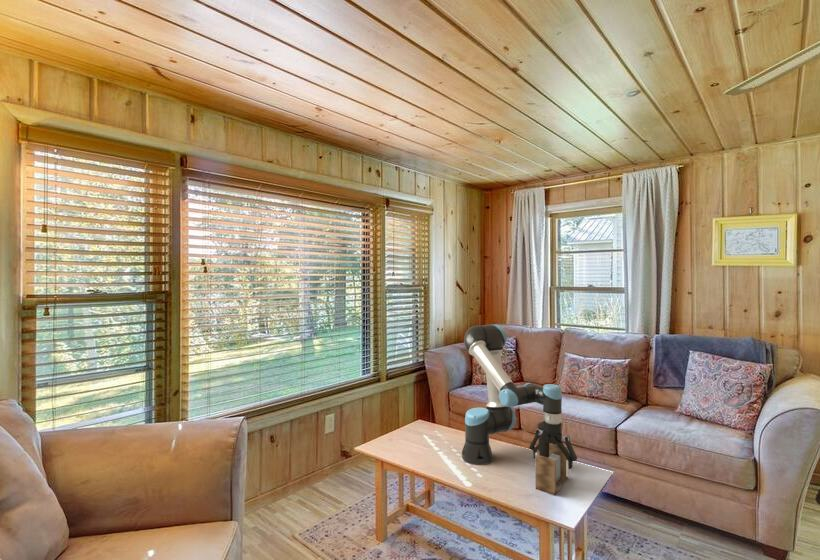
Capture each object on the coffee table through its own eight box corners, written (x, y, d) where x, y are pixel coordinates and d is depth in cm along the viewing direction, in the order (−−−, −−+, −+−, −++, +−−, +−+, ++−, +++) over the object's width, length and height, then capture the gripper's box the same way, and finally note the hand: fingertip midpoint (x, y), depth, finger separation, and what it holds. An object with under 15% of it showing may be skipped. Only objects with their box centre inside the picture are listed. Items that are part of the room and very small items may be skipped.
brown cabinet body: (535, 488, 172) (535, 455, 171) (549, 473, 185) (549, 442, 185) (555, 495, 166) (555, 461, 166) (569, 479, 179) (569, 447, 179)
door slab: (542, 484, 173) (542, 461, 173) (551, 475, 181) (551, 453, 181) (552, 487, 170) (552, 463, 170) (560, 478, 178) (560, 455, 178)
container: (558, 470, 187) (558, 427, 187) (538, 469, 189) (538, 426, 189) (555, 462, 196) (555, 420, 196) (536, 460, 198) (536, 419, 197)
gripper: (521, 417, 180) (521, 465, 180) (579, 430, 164) (579, 483, 165) (528, 413, 186) (528, 459, 186) (585, 425, 170) (585, 476, 170)
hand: (552, 471), depth 175 cm, fingers open, 13 cm apart
